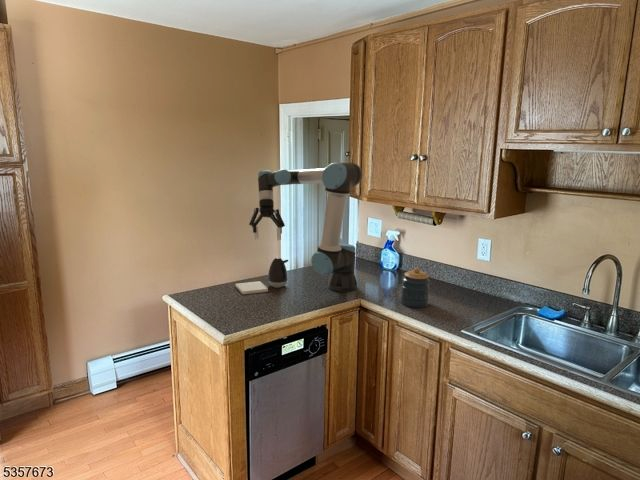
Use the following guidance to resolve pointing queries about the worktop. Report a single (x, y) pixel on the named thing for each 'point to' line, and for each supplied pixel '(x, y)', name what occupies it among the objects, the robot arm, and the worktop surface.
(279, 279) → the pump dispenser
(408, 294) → the canister
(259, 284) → the tile pad
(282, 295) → the worktop surface
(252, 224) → the robot arm
